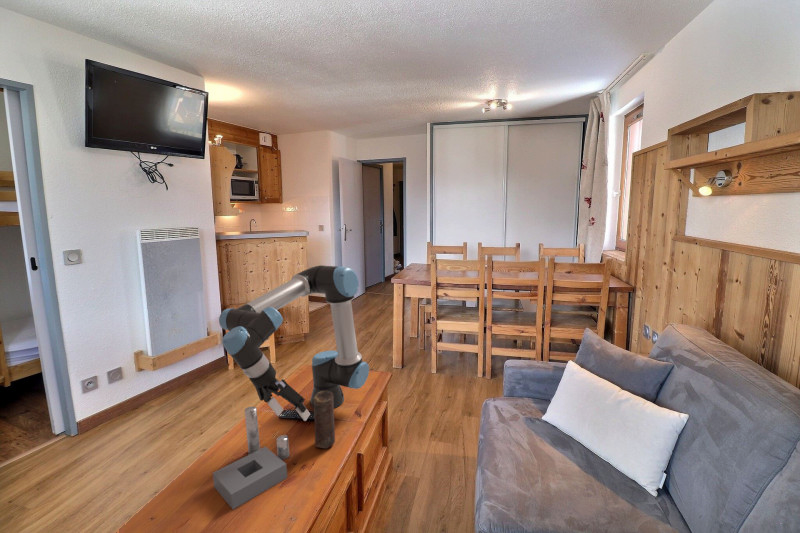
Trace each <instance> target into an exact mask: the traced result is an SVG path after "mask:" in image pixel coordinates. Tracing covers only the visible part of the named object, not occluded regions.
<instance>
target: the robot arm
mask: <svg viewBox="0 0 800 533" xmlns="http://www.w3.org/2000/svg"><path fill="white" fill-rule="evenodd" d="M359 285H360V284H359V277H358V274H357V273H356V272H355V270H353V269H352V268H351V267H347V266H341V265H340V266H335V265H334V266H333V265H321V264H320V265H315V266H312V267H309V268H307V269H305V270H303V271H300V272H298V273H296V274H294V275H293V276H292V277H291V279H290V280H288V281H287V282H284V283H282V284H281V285H279V286H277V287H275V288H273V289H271V290H269V291H267V292H266V293H264V294H262V295H260V296H258V297H257V298H253V300H251V301H249V302H246V303H245V304H243V305H241V306H240V307H238V308H233V307H231V308H226V309H224V310H223V311H222V312H220V315H219V317H218V323H219V326H220V328H221V329H223V330H226V331H227V332H226V333H225V334H224V336H223V337H222V340H221V343H222V346H223V348H224V349H225V350H226V352H227V353H228V355H230V357H231V358H232V359H233V360H234V361H235V363H236V364H237V365H238V366H239V368H240V369H241V370H242V371H243V375H244V376H246V377H247V378H249V381H250V382H251V383H252V385H253V386H254V387H255V391H256V392H257V396H258V398H259V400H260V401H264V403H266V404H267V405H268V406H269V407H270V409H271V410H272V411H273V412H274V414H275V415H276V416H277V417H279V416H280V415H281V414H282V412H283V411H284V408H283V407H282V406H281V405H280V403H279V402H278V401H277V399H276V398H275V397H274V396H273V394H274V395H276V396H277V397H279V396H280V397H281V398H283V400H284V399H285V400H286V401H287V402H288V403H290V404H291V405H293V408H294V410H295V411H296V412H297V413H298V414H299V416H300V417H301V419H302V420H303V421H304V422H306V421H307V420H308V418H309V417H310V415H311V413H310V412H309V410H308V408H307V407H306V406H305V405H304V402H305V400H306V399H305V398H304V397H303V396H302V395H301V394H300V393H299V392H298V391H296V390H295V389H294V388H293V387H292V386H290V384H288V382H287V381H285V379H281V380H279V379H277V378H276V376H277V375H276V374H277V370H276V369H275V367H274V366H273V365H272V364H271V363H270V361H269V359H268V358H267V356H266V355H265V354H264V352H263V351H262V350H261V348H260V347H261V346H262V345H263V344H264V343H265V342H266V341H267V340H268V339H269V338H270V337H271V336H273V334H274V333H275V332H276V331H277V330H278V328H279V327H280V326H281V325H283V324H282V323H283V321H284V318H283V316H282V314H281V313H280V312H279V311H278V310H279V309H281V308H283V307H285V306H287V305H288V304H290V303H292V302H293V301H296V300H297V299H298V298H300V297H303V298H305V297H306V296H309V295H310V294H322V295H324V296H325V301H326V303H327V304H330V311H331V317H332V325H333V332H334V339H335V344H336V350H325V351H321V352H318V353H316V354H315V355H313V357H312V359H311V371H312V384H313V387H312V388H313V389H312V392H311V396H310V405H311V407H312V408H313V409H314V397H315V395H316V394H317V393H318V392H320V391H330V392H332V393H333V402H334V409H335V408H337V407H340V406H341V405H342V404H343V403H344V401H345V395H344V391H343V389H342V387H346V388H349V389H356V390H359V389H361V388H362V387H363V386H364V385H365V384H366V382H367V379H368V377H369V372H370V366H369V363H367V362H366V361H363V355H362V354H361V352H359V351H358V344H357V336H356V328H355V321H354V313H353V305H352V301H353V300H354V299H355V295H356V294H357V293H358V290H359V289H358V288H359ZM341 386H342V387H341Z"/></svg>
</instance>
